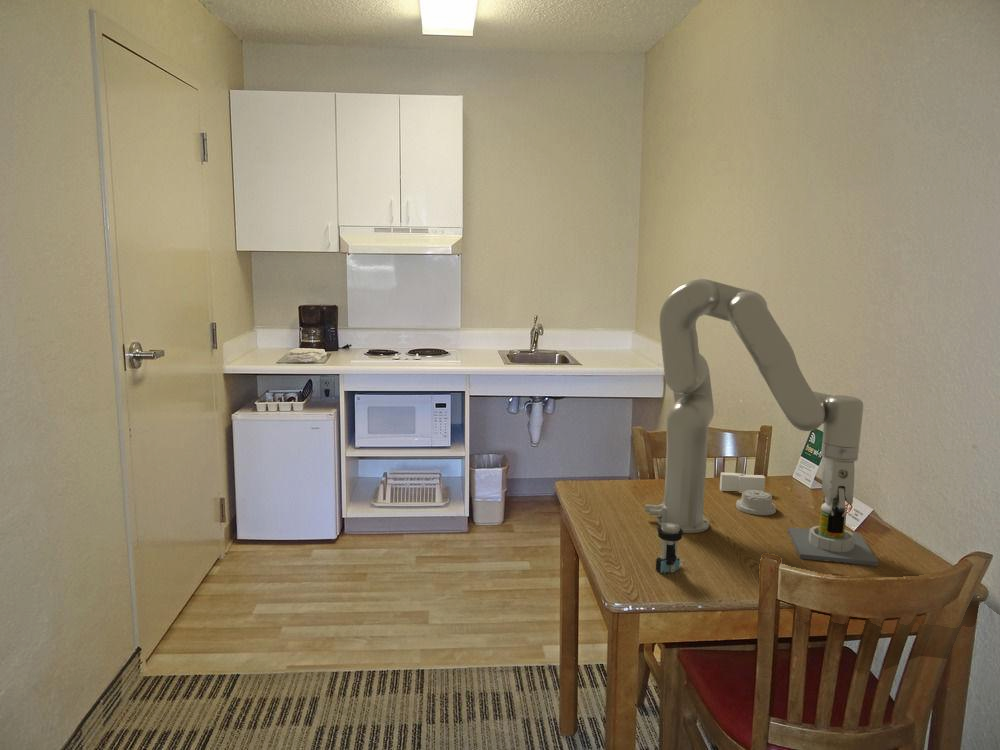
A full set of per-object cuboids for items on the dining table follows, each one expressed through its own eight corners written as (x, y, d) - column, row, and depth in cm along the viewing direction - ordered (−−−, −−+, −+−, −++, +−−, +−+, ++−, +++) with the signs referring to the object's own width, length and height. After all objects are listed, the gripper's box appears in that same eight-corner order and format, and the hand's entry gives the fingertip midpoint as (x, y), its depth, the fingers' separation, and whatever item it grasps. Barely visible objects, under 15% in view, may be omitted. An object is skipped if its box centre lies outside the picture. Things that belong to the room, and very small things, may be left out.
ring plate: (799, 558, 160) (801, 543, 160) (788, 531, 176) (789, 517, 175) (878, 566, 157) (879, 551, 156) (859, 537, 172) (860, 523, 171)
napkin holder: (774, 494, 203) (775, 474, 202) (755, 504, 195) (757, 484, 194) (724, 481, 213) (726, 463, 212) (705, 490, 206) (706, 471, 204)
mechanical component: (745, 516, 185) (782, 516, 186) (746, 500, 185) (784, 500, 185) (730, 503, 195) (765, 502, 196) (731, 487, 194) (767, 487, 195)
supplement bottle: (814, 536, 166) (818, 496, 164) (823, 530, 170) (827, 490, 168) (838, 543, 162) (842, 502, 160) (847, 537, 166) (852, 496, 164)
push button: (674, 561, 158) (676, 518, 156) (691, 571, 153) (693, 526, 151) (650, 567, 155) (652, 523, 153) (666, 577, 150) (669, 532, 148)
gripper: (868, 463, 153) (858, 543, 156) (848, 442, 170) (840, 515, 173) (830, 460, 155) (821, 540, 158) (814, 439, 171) (807, 512, 174)
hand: (831, 526), depth 165 cm, fingers closed on supplement bottle, 5 cm apart
